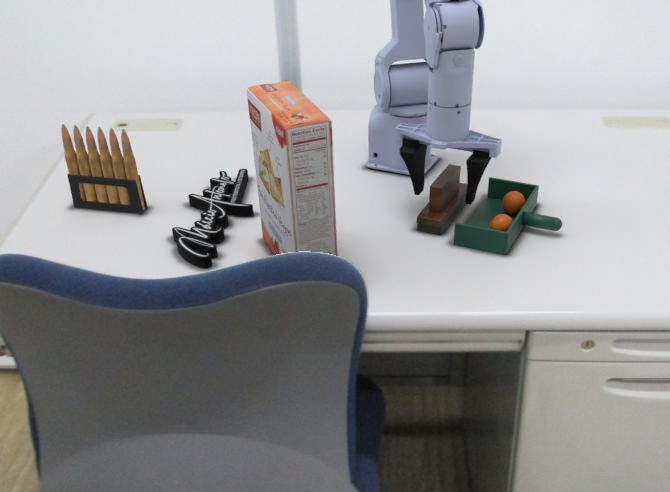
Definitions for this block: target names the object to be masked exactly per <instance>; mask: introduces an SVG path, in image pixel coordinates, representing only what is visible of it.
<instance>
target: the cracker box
mask: <svg viewBox="0 0 670 492" xmlns="http://www.w3.org/2000/svg"><path fill="white" fill-rule="evenodd" d="M246 96H247V106H248V113H249V114H248V117H249V125H250V131H251V141H252V151H253V159H254V169H255V177H256V178H255V179H256V186H257V187H256V188H257V196H258V207H259V213H260V214H259V215H260V224H261V233H262V239H263V241H264V243H265V244H266V245H267V247H268V248H269V250H270V251H271V253H272V254H273V256H275V255H276V254H281V253H288V252H299V251H311V252H323V253H329V254H333V255H336V256H338V238H337V236H338V235H337V216H336V213H337V212H336V211H337V210H336V191H335V189H336V188H335V169H334V168H335V167H334V166H335V165H334V144H333V143H334V141H333V124H332V123H333V122H332V119H331V118H330V117H329V116H328V115H327V114H326V113H325V112H323V111H322V110H321V109H320V108H319V107H318V106H317V105H316V104H315V103H314V102H313V101H311V100H310V98H308V97H307V96H306V95H305V94H304V93H303V92H302V91H301V90H300V89H298V87H296V86H295V85H294V84H293V82H291V81H290V80H285V81H280V82H274V83H273V82H272V83H262V84H257V85H252V86H249V87H246Z"/></svg>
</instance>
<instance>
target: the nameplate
mask: <svg viewBox="0 0 670 492" xmlns="http://www.w3.org/2000/svg"><path fill="white" fill-rule="evenodd" d="M248 182H249V171H248V169H247V168H240V169H238V172H237V175H236V178H235V181H233V180H232V177H231V176H228V172H226V171H225V170H220V171H219V177H218V178H216V177H212V178H210V179H209V184H210V189H209V188H206V189H203V190H202V195H201V194H195V193H190V194H188V203H189V206H190V207H192V208H194V209H197V210H200V211H202V212H201V213H200V220H196V221H194V226H191V227H190V229H188V228H184V227H179V226H174V227H171V233H172V237H173V241H174V242H175V244H176V247H177V248H176V249H177V252H178V254H179V256H180V257H181V258H182V259H183V260H184V261H186V262H187V263H189V264H191V265H193V266H194V267H197V268H200V269H210V268H212V267H213V259H217V258H218V256H219V255H218V247H217V245H218V244H222V242H224V241H225V239H226V237H225V228H227V227H228V226H229V224H230V223H229V216H231V217H239V218H240V217H241V218H242V217H243V218H247V217H248V218H249V217H253V216H254V207H253V206H254V205H253V204H252V203H242V202H243V199H244V196H245V193H246V189H247V186H248Z"/></svg>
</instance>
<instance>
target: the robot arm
mask: <svg viewBox="0 0 670 492" xmlns="http://www.w3.org/2000/svg"><path fill="white" fill-rule="evenodd" d="M389 5H390V6H389V7H390V24H391V25H390V27H391V39H390V40H389V42H387V44H385V45H384V46H383V47H382V48H381V49H380V50H379V51H378V53H377V54H376V55H375V57H374V73H373V74H374V75H373V92H374V97H375V98H374V99H375V102H376V103H377V104H375V105H374V106H373V108H372V109H371V112H370V114H369V118H368V119H369V120H368V125H367V127H368V129H367V130H368V131H367V132H368V133H367V134H368V135H367V137H368V138H367V139H368V141H367V142H368V143H367V144H368V147H367V148H368V163H367V164H366V168H367V169H368V168H369V169H372V170H373V169H374V170H379V171H384V172H390V173H396V174H401V175H406V176H409V177H410V180H411V185H412V188H413V194H414V196H420V195H421V193H422V192H423V191H424V190H425V181H426V180H425V179H426V178H425V175H426V174H427V173H428V171H429V170H430V169H431V168H432V167H433V166H434V164H435V163H436V162H437V161H438V160H439V159H440V156H439V155H438V154H432V153H431V152H432V149H437V150H446V149H450V150H451V149H452V150H457V151H463V152H470V153H471V155H469V156H468V157H467V159H466V163H465V164H466V181H467V182H466V184H467V191H466V203H465V205H467V206H471V205H472V204H473V203H474V202H475V199H476V195H477V191H478V187H479V185H480V183H481V179H482V177H483V175H484V173H485V171H486V169H487V167H488V165H489V164H490V161H491V160H492V158H493V159H497V158H498V157H499V155H500V154H501V150H502V143H503V142H502V141H503V139H502V138H498V137H494V136H491V135H487V134H484V133H481V132H478V131H475V130H471V129H470V126H471V115H472V114H471V113H472V99H473V97H472V96H473V85H474V71H475V70H474V69H475V58H476V57H475V56H476V50H478V49H480V48H481V46H482V44H483V41H484V37H485V30H486V29H485V28H486V27H485V25H486V23H485V21H486V20H485V14H484V7H483V4H482V2H481V0H389ZM424 6H425V7H424ZM424 8H425V9H426V10H425V11H424ZM474 49H475V50H474ZM412 60H413V61H414V60H415V61H416V60H423V61H419V62H417V61H416V62H407V63H406V62H405V63H396V62H403V61H412ZM394 63H395V64H394Z"/></svg>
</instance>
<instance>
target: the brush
mask: <svg viewBox="0 0 670 492" xmlns="http://www.w3.org/2000/svg"><path fill="white" fill-rule="evenodd" d="M461 168H462V166H461V165H457V164H450V163H449V164H448V165H446V167H445V168H444V169H443V171H441V172H440V174H439V175H438V176H437V178H435V179H434V181H433V182H432V183H431V184H430V186H429V197H428V198H429V199H428V202H427V204H426V205H425V206H424V207H423V208H422V209H421V211H420V212H419V213H418V214H417V216H416V230H417V231H420V232H426V233H430V234H435V235H443V233H444V232H445V231H446V229H447V228H448V226H450V224H451V223H452V222H453V220H454V219H455V218H456V216H457V215H458V214H459V212H460V211H461V210H462V208H463V207H464V206H465V205H466V191H467V183H464V182H461Z"/></svg>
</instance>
